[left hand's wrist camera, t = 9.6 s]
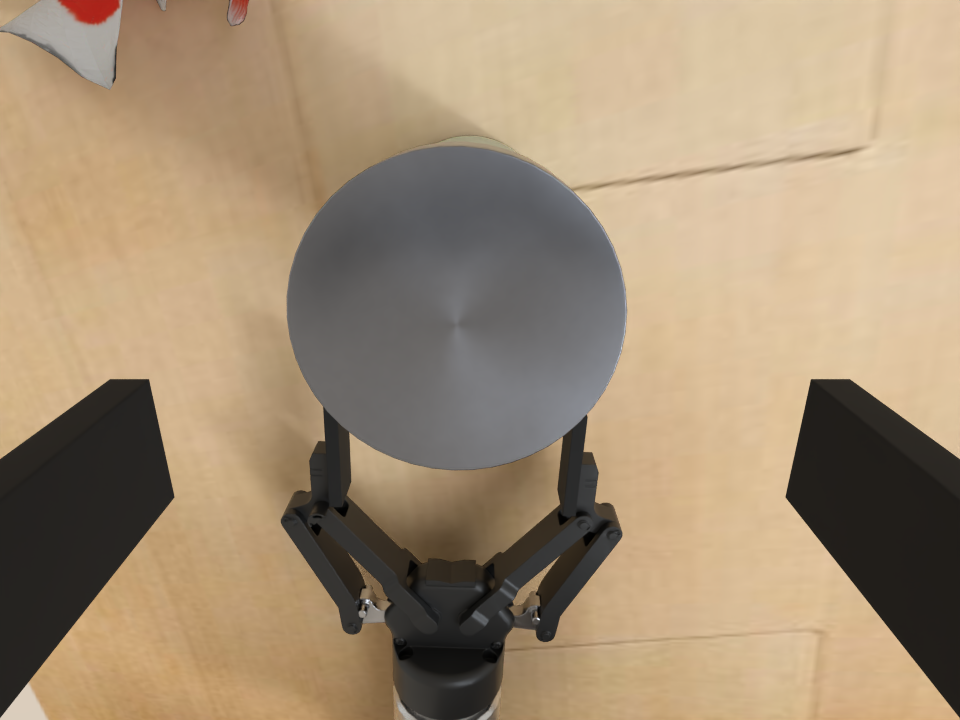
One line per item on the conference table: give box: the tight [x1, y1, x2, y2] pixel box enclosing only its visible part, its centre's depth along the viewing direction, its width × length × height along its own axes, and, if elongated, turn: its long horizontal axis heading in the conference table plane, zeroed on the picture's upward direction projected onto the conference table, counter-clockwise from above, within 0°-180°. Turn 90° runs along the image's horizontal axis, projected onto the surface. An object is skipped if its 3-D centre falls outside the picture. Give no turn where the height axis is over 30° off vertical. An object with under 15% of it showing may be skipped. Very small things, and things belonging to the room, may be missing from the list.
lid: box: [287, 141, 627, 470], centre depth 20 cm, size 10×10×2 cm
